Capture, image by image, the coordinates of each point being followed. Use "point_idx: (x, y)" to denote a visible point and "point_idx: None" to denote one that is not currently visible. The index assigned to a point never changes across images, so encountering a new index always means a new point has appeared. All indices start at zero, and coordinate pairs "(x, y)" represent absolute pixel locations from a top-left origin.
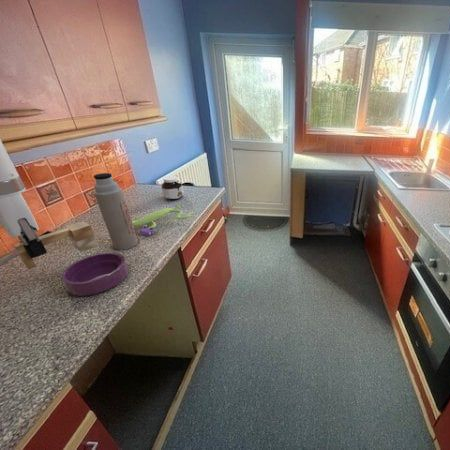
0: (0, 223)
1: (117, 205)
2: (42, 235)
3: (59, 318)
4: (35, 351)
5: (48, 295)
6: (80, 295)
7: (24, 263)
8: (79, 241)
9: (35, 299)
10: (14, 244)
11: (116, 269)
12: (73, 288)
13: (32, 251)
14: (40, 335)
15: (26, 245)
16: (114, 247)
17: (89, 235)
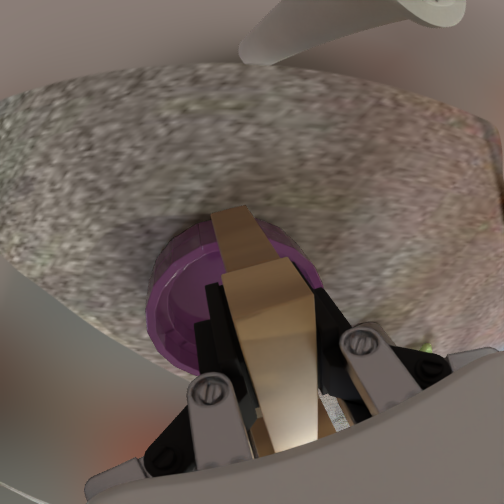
0: (487, 481)
1: None
2: (315, 412)
3: (99, 189)
4: (12, 147)
5: (248, 164)
6: (167, 245)
7: (233, 222)
8: None
9: (254, 132)
10: (303, 307)
11: (177, 363)
12: (173, 251)
13: (198, 338)
14: (57, 150)
15: (194, 382)
16: (362, 325)
17: None
